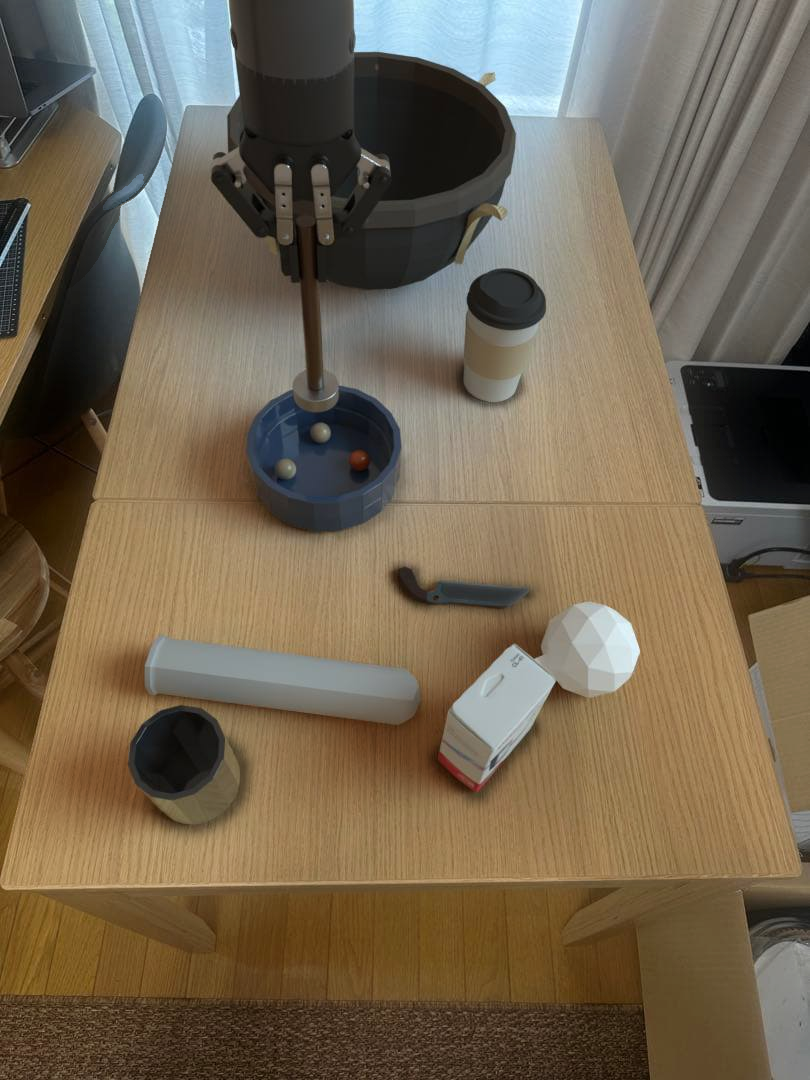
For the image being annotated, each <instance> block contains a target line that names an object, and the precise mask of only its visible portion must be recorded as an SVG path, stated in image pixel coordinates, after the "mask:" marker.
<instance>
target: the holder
mask: <svg viewBox="0 0 810 1080" xmlns="http://www.w3.org/2000/svg"><path fill="white" fill-rule="evenodd" d="M127 758H128V759H127V767H128V770H129V772H130V775H131V778H132V781H133V783H134V785H135V786H136V787H138V789H139V790H140V791H141V792H142V793H144V795H145V796H146V797H147V798H148V800H150V801H151V802H152V803H153V804H154V805H155V806H156V807H157V808H158V809H159V810H160V811H161V812H162V813H164V814H165V815H166V816H167V817H168V818H170V819H171V820H172V821H173V822H177V823H179V824H183V825H189V826H190V825H191V826H193V825H201V824H204V823H208V822H210V821H213V820H214V819H216V818H218V817H220V816H221V815H222V814H223V813H224V812H225V811H227V809H228V808H229V807H230V806H231V805H232V803H233V801H235V799H236V796H237V794H238V791H239V788H240V784H241V783H240V782H241V771H240V769H241V768H240V764H239V763H238V760H237V757H236V756H235V753H234V751H233V748H232V747H231V745H230V743H229V741H228V739H227V737H226V735H225V733H224V731H223V729H222V727H221V724H220V723H219V719H217V718H216V717H214V716H213V715H212V714H210V713H209V712H208V711H206V710H205V709H204V708H202V707H198V706H193V705H192V706H191V705H185V704H179V705H175V706H172V707H168V708H163V709H160V710H159V711H157V712H155V713H154V714H153V715H152V716H150V717H149V718H148V719H147V720H145V721H144V722H143V723H141V725H140V726H139V727H138V729H137V731H136V733H135V734H134V736H133V738H132V740H131V741H130V743H129V751H128V757H127Z"/></svg>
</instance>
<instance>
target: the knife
mask: <svg viewBox="0 0 810 1080" xmlns="http://www.w3.org/2000/svg"><path fill="white" fill-rule="evenodd" d="M397 579H398V581H399V582H400V584H401V586H402V588H404V590H405V591H406V592H407V594H408V595H409V596H410V597H412V598H413V599H415V600H416V601H419V602H422V603H428V604H433V605H446V604H454V605H465V606H476V607H488V608H500V609H505V608H508V607H510V606H513V605H515V604H516V603H518V602H519V601H520V600H521V599H523V598H524V597H526V596H527V594H528V593H530V591H531V587H524V586H513V585H503V584H491V583H480V582H479V583H477V582H469V581H468V582H466V581H455V580H445V579H444V580H443V579H439V580H438V581H437V582H436V583H435V588H434V589H433V591H432V590H431V591H428V590H425V589H423V588H421V587H420V585H419V583H418V580H417V578H416V575H415V573H414V571H413V570H412V569H411V568H409V567H407V566H403V567H400V568H398V571H397ZM435 597H436V598H437V600H435V599H434V598H435Z"/></svg>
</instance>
